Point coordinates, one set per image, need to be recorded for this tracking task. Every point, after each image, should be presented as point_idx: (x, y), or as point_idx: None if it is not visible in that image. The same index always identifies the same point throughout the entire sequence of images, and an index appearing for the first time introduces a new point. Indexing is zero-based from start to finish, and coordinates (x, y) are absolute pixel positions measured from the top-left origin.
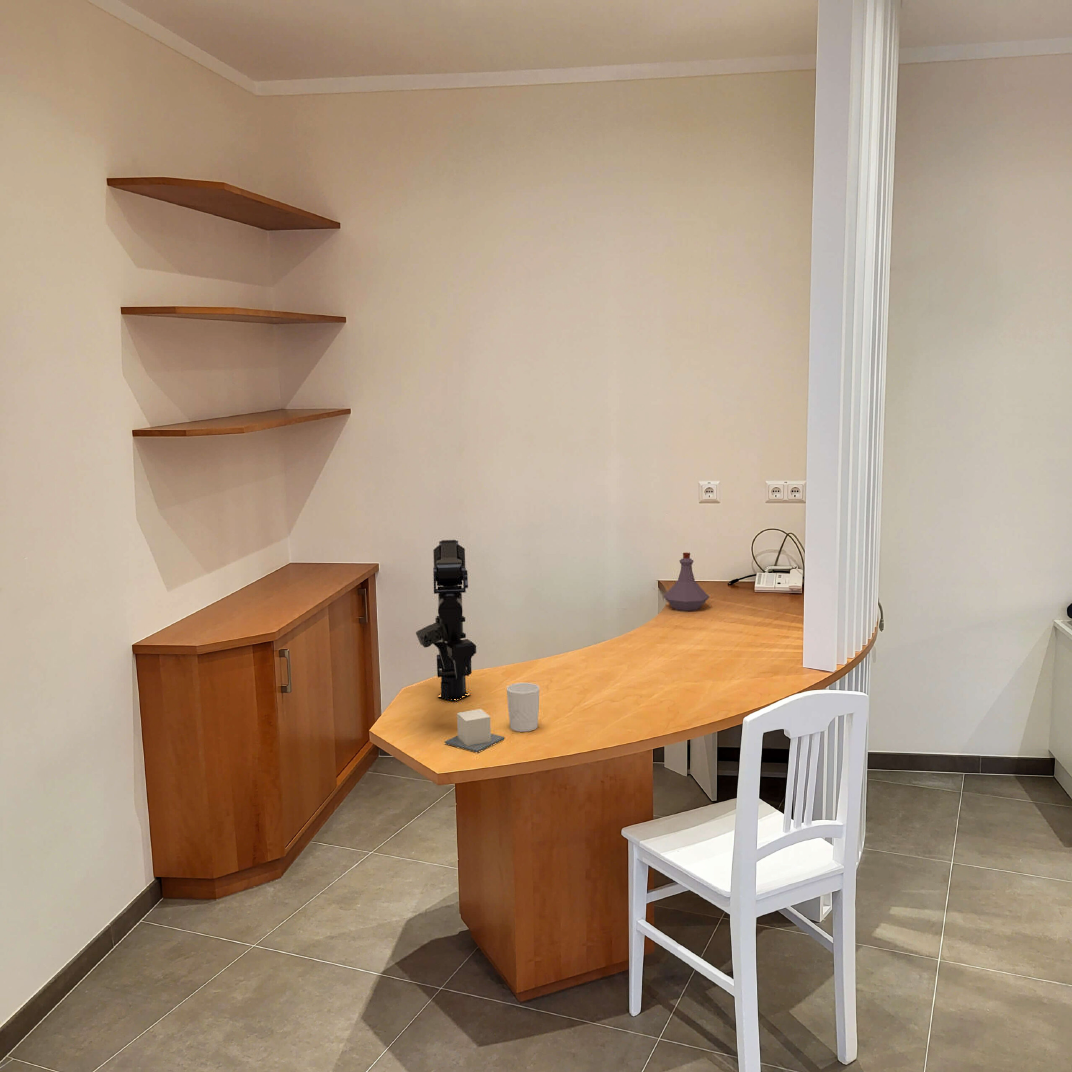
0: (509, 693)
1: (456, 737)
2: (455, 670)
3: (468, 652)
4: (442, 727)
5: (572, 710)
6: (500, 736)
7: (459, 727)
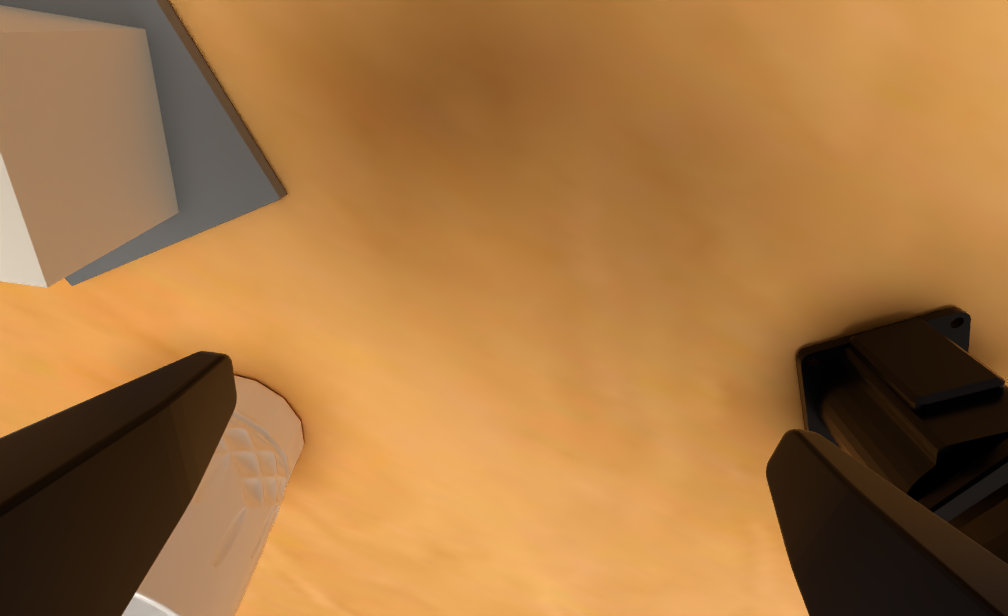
0: None
1: (143, 17)
2: (40, 447)
3: None
4: (450, 57)
5: (344, 612)
6: (86, 272)
7: (14, 20)
